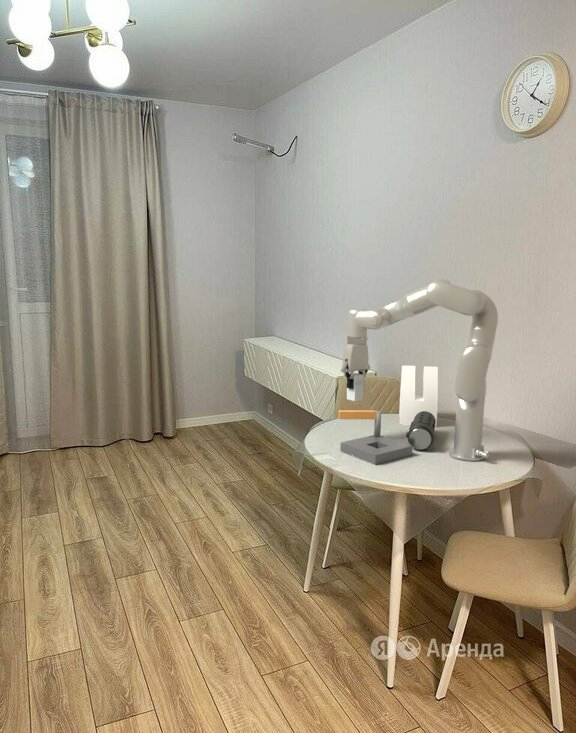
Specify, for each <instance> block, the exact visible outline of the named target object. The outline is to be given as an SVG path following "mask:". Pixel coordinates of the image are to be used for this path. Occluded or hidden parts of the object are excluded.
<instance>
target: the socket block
mask: <svg viewBox="0 0 576 733" xmlns="http://www.w3.org/2000/svg"><path fill="white" fill-rule="evenodd" d="M339 448H340V451H342V452H341V453H343V452H344V453H343V454H345V453H347V454H346V455H348V454H350V455H349V456H351V455H353V456H355V457H354V458H356V457H358V458H360V459H359V460H361V459H363V460H362V461H364V460H365V461H364V462H366V461H367V463H369V462H370V463H369V464H371V463H372V464H371V465H374V464H375V465H374V466H377V465H380V463H381V464H384V463H387V462H391V461H396V460H398V459H403V458H406V457H410V456H413V449H414V448H413V446H411V445H410V444H408V443H405V442H402V441H400V440H396V439H392V438H389V437H387V436H385V435H384V436H383V435H382V434H380V436H379V437H377V436H374V434H373V435H369V436H363V437H359V438H355V439H350V440H346V441H341V442H340V446H339ZM353 456H352V457H353ZM358 458H357V459H358ZM376 464H377V465H376Z"/></svg>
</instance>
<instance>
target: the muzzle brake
mask: <svg viewBox="0 0 576 733" xmlns="http://www.w3.org/2000/svg"><path fill="white" fill-rule="evenodd" d="M435 424H436V425H437V423H436V420H435V417H434V416H433V415H432V414H431V413H430V412H427V411H422V412H419V413H418V414H417V415H416V416H415V418H414V420H413V421H412V422H411V425H410V426H409V429H408V430H409V431H408V432H406V434H405V436H406V438H407V440H408V443H409V444H408V445H411V446H413V448H412V449H415V450H419V451H422V450H427V449H428V448H430V447H431V446H432V444H433V442H434V439H435V438H434V437H435V430H436V427H435Z"/></svg>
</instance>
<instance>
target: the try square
mask: <svg viewBox="0 0 576 733" xmlns="http://www.w3.org/2000/svg"><path fill="white" fill-rule="evenodd" d="M338 420H374V424H373V425H374V426H373V427H374V428H373V430H374V432H373V435H374V436H377V437H379V436H380V435H381V430H382V426H381V425H382V410H374V409H373V410H371V409H370V410H367V409H366V410H365V409H364V410H340V409H339V410H338Z"/></svg>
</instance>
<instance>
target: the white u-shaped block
mask: <svg viewBox="0 0 576 733" xmlns="http://www.w3.org/2000/svg"><path fill="white" fill-rule="evenodd" d="M438 370H439V368H438V366H430V365H429V366H428V365H426V366H425V365H424V366H423V374H422V380H421V381H422V382H421V391H416V365H408V364H407V365H401V372H400V373H401V376H400V377H401V378H400V389H399V393H400V394H399V409H398V410H399V412H398V417H400V419H399V425H400V424H403V425H411V422H412V421H413V420H414V418H415V416H416V415H417V414H418V413H419V412H422V411H427V412H430V413H431V414H432V415H433V416H434V417H435V420H436V424H435V426H436V427H437V423H438V422H437V421H438V420H437V419H438V404H439V402H438V401H439V400H438V398H439V390H438V389H439V387H438V386H439V382H438V381H439V377H438V376H439V374H438V373H439V371H438ZM403 425H402V426H403Z"/></svg>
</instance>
